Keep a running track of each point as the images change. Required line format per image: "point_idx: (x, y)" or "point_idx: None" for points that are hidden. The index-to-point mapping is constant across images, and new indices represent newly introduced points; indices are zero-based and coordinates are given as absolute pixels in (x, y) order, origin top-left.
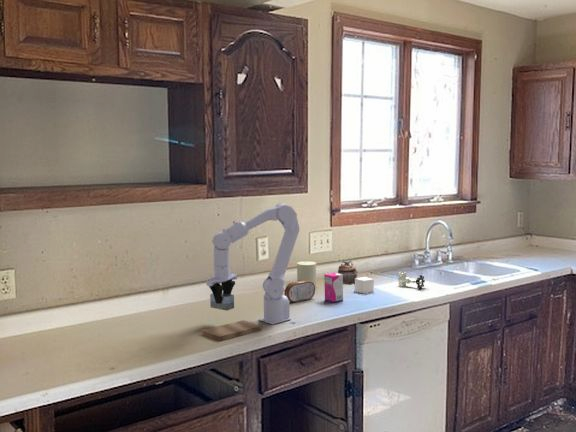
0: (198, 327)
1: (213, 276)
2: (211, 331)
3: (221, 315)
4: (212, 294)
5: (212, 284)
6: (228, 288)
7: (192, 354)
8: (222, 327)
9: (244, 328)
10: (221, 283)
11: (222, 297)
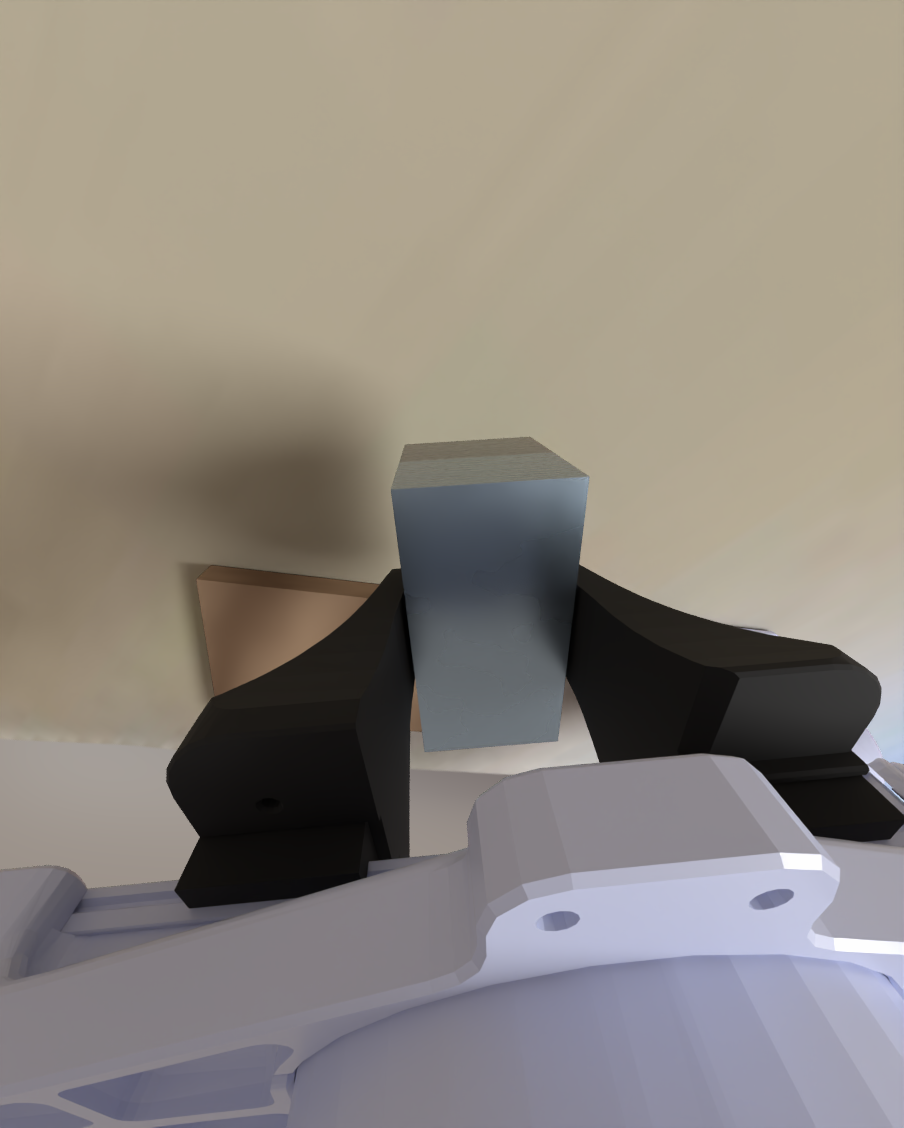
0: (275, 418)
1: (520, 934)
2: (232, 636)
3: (650, 301)
4: (400, 538)
5: (148, 926)
6: (603, 736)
7: (17, 736)
8: (337, 627)
9: (412, 714)
10: (677, 666)
11: (418, 693)
